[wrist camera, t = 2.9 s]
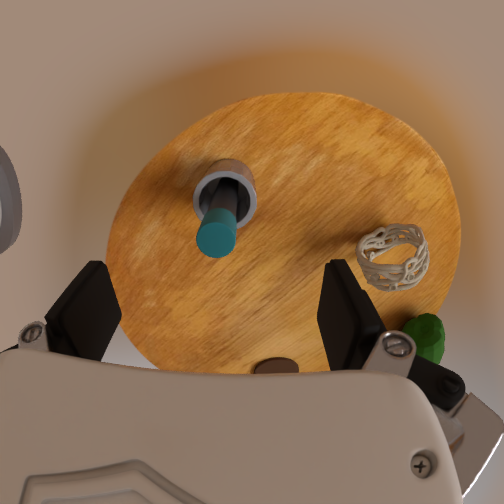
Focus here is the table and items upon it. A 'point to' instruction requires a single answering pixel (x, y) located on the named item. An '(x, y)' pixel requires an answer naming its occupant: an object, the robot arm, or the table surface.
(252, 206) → the pot
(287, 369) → the coaster
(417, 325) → the bell pepper
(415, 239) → the bracelet
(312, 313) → the table surface
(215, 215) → the marker
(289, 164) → the table surface
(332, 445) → the robot arm
